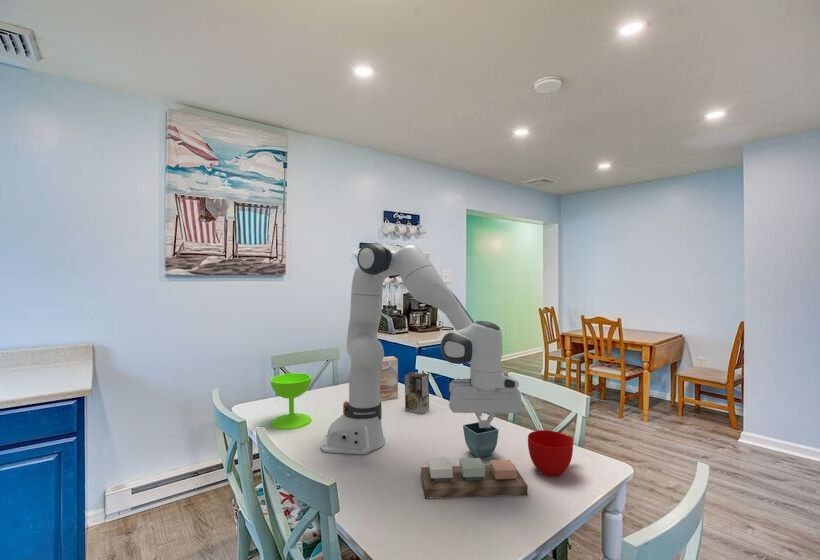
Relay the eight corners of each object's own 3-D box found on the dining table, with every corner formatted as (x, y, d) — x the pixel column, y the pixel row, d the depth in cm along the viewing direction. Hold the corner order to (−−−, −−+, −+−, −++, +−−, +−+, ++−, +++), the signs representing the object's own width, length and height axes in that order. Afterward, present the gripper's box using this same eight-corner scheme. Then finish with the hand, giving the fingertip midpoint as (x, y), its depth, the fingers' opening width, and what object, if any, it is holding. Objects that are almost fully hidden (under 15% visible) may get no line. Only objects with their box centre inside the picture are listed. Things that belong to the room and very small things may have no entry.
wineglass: (291, 432, 150) (291, 385, 150) (262, 425, 157) (261, 380, 157) (320, 419, 164) (319, 375, 164) (291, 412, 172) (291, 371, 171)
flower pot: (462, 450, 134) (462, 424, 134) (484, 446, 137) (484, 420, 137) (476, 462, 126) (476, 434, 126) (499, 456, 129) (499, 429, 129)
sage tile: (463, 486, 109) (463, 468, 109) (459, 475, 115) (459, 458, 115) (484, 485, 109) (484, 467, 109) (479, 474, 115) (479, 457, 115)
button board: (424, 498, 106) (424, 489, 106) (421, 475, 118) (421, 467, 117) (527, 494, 107) (527, 485, 107) (513, 472, 119) (513, 464, 119)
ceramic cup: (590, 471, 120) (590, 438, 120) (554, 487, 111) (554, 451, 111) (554, 454, 131) (554, 424, 131) (518, 468, 122) (518, 436, 122)
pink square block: (495, 488, 110) (495, 470, 110) (489, 477, 116) (489, 460, 116) (516, 487, 110) (516, 469, 110) (510, 476, 116) (510, 459, 116)
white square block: (431, 487, 109) (430, 469, 109) (428, 476, 115) (428, 459, 115) (452, 486, 109) (452, 468, 109) (449, 475, 115) (449, 458, 115)
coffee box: (429, 410, 174) (429, 373, 174) (422, 414, 168) (422, 377, 168) (412, 406, 179) (412, 371, 179) (404, 410, 173) (404, 374, 173)
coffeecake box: (368, 402, 185) (367, 361, 184) (364, 398, 191) (364, 358, 191) (398, 398, 190) (398, 358, 190) (393, 394, 197) (393, 355, 196)
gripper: (451, 381, 108) (449, 431, 109) (524, 382, 110) (522, 432, 110) (447, 375, 115) (446, 423, 115) (516, 376, 116) (515, 423, 116)
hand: (484, 427), depth 112 cm, fingers closed
